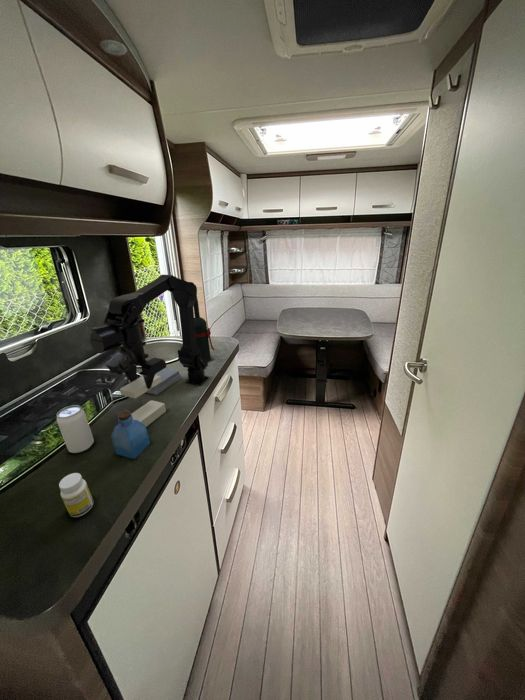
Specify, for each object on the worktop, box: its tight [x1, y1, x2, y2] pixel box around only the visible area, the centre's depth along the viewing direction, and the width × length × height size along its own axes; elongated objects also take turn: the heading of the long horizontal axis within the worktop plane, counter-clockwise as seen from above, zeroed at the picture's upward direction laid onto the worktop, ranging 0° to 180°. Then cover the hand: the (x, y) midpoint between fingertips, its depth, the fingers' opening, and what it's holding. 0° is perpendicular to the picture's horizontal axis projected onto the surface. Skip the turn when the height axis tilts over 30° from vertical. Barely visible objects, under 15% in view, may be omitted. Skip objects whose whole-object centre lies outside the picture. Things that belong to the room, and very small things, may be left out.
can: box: [56, 404, 95, 454], centre depth 77 cm, size 6×6×12 cm
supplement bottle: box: [58, 472, 94, 518], centre depth 60 cm, size 5×5×8 cm
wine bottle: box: [193, 298, 215, 362], centre depth 126 cm, size 8×10×30 cm
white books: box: [131, 399, 167, 428], centre depth 90 cm, size 11×6×3 cm, turn 156°
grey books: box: [145, 367, 182, 396], centre depth 110 cm, size 14×9×4 cm, turn 156°
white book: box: [119, 375, 162, 399], centre depth 88 cm, size 11×6×2 cm, turn 155°
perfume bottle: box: [110, 409, 151, 460], centre depth 76 cm, size 6×6×12 cm
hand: (141, 386), depth 88 cm, fingers closed on white book, 6 cm apart
